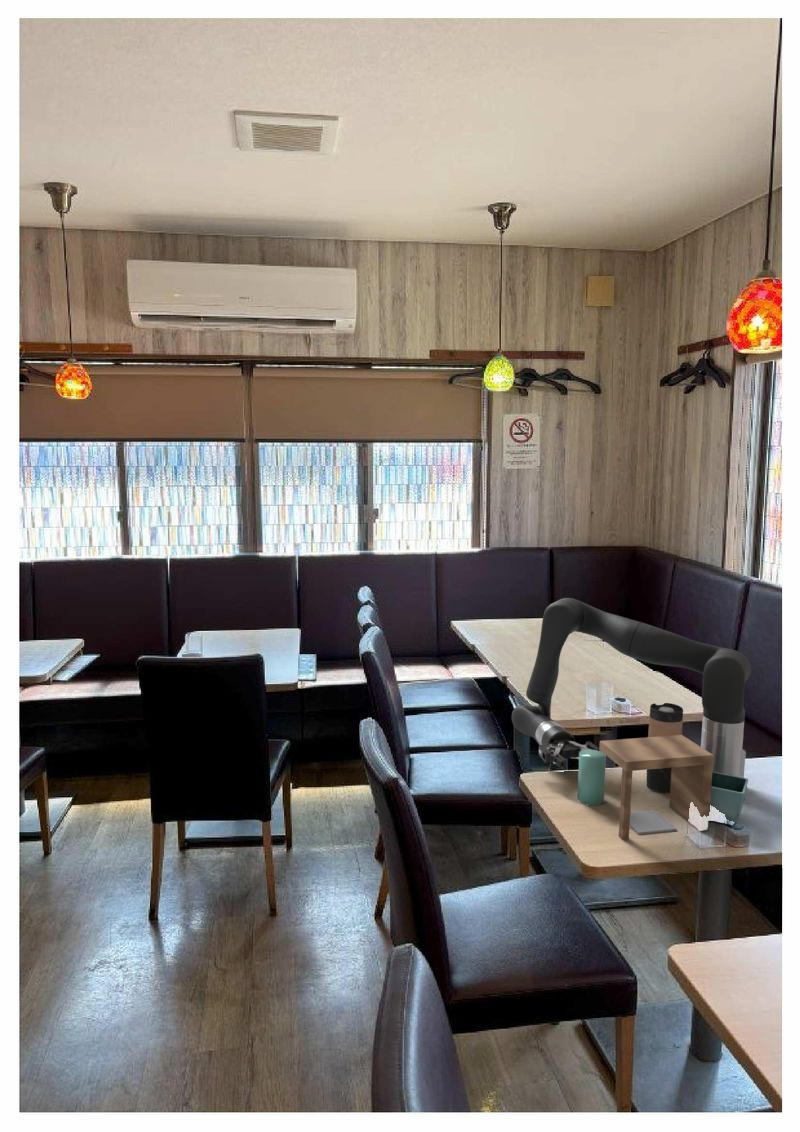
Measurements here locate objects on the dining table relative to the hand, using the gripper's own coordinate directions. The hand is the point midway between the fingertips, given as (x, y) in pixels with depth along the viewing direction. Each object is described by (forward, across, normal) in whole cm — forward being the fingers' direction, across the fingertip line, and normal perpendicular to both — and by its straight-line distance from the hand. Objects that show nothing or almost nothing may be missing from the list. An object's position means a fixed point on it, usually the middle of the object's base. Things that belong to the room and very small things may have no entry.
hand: (581, 763), depth 187 cm
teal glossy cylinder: (+6, 0, +6) cm, 9 cm away
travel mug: (+2, +20, +7) cm, 21 cm away
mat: (+18, +7, +6) cm, 21 cm away
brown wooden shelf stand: (+18, +8, +6) cm, 21 cm away
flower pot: (+20, +24, +7) cm, 32 cm away
